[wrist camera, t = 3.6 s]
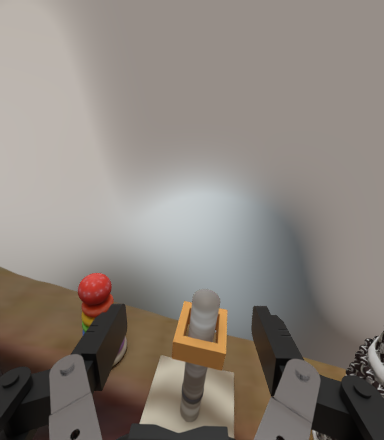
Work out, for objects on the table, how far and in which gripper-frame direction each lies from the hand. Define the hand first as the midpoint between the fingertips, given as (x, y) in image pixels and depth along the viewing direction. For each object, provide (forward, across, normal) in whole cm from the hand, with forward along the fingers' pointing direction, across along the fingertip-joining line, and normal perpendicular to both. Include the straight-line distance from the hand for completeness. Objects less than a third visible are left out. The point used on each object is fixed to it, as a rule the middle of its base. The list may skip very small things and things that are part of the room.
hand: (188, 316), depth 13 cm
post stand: (+13, +1, +30) cm, 33 cm away
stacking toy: (+22, +18, +27) cm, 39 cm away
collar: (+10, -1, +12) cm, 15 cm away
